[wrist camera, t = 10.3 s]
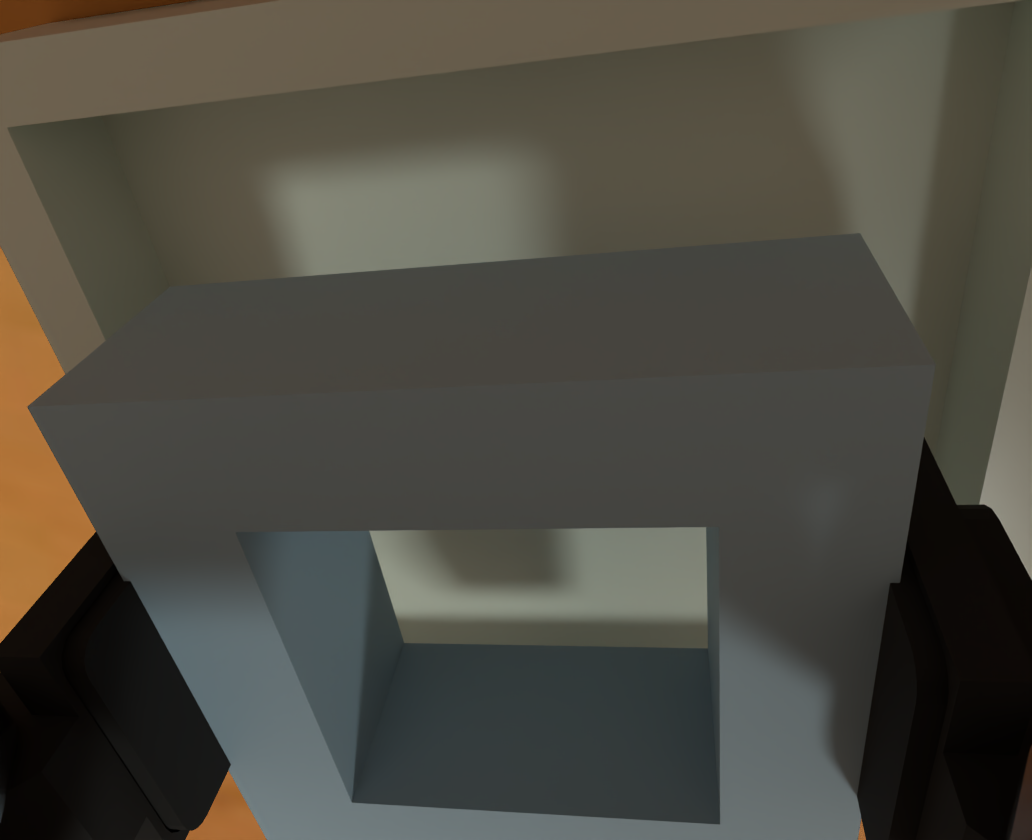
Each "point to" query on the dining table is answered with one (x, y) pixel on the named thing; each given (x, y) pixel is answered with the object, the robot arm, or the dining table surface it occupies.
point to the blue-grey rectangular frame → (517, 505)
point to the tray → (542, 207)
